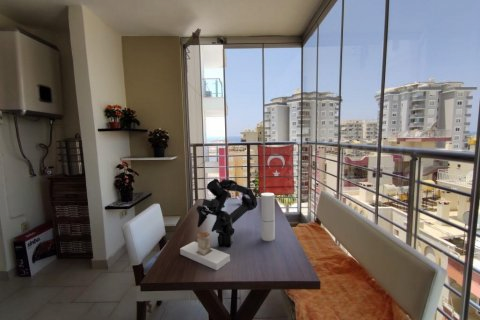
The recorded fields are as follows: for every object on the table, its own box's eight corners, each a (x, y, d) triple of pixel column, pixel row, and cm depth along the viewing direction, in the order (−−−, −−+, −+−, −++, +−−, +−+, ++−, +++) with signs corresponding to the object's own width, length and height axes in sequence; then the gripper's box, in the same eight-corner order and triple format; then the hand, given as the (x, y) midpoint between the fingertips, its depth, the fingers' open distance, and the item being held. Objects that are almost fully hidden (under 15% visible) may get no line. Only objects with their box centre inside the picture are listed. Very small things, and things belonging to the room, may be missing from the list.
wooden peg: (204, 254, 113) (203, 230, 112) (210, 256, 111) (209, 232, 109) (198, 258, 110) (197, 233, 109) (204, 260, 107) (203, 235, 106)
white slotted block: (194, 246, 121) (194, 241, 121) (230, 260, 107) (229, 254, 106) (180, 254, 114) (180, 248, 113) (216, 270, 100) (216, 263, 99)
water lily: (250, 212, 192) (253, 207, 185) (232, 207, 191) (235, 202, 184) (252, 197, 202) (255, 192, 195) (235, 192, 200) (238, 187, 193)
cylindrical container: (273, 235, 132) (273, 192, 130) (275, 240, 125) (275, 195, 122) (261, 235, 132) (260, 192, 129) (262, 241, 125) (262, 196, 122)
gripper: (197, 189, 117) (181, 217, 110) (226, 194, 106) (210, 225, 99) (209, 201, 125) (194, 227, 117) (237, 206, 114) (223, 236, 106)
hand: (204, 229), depth 110 cm, fingers open, 9 cm apart
